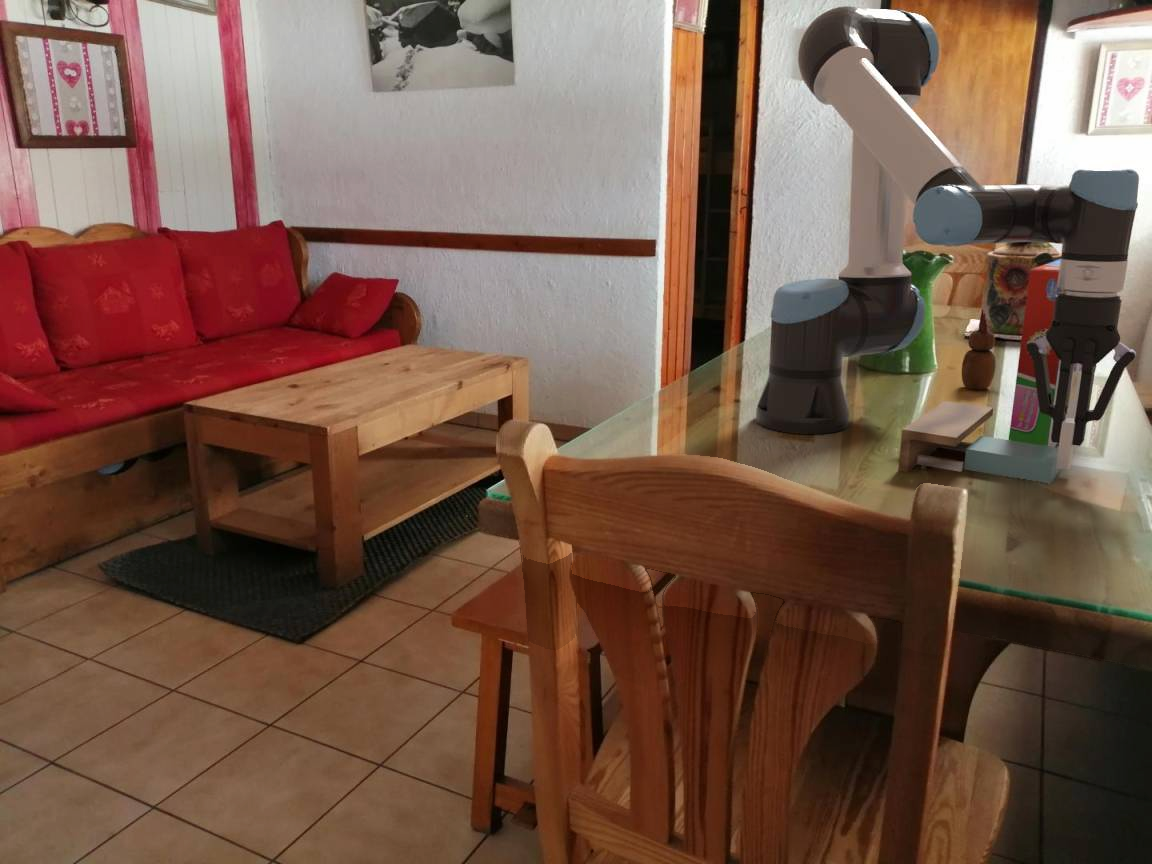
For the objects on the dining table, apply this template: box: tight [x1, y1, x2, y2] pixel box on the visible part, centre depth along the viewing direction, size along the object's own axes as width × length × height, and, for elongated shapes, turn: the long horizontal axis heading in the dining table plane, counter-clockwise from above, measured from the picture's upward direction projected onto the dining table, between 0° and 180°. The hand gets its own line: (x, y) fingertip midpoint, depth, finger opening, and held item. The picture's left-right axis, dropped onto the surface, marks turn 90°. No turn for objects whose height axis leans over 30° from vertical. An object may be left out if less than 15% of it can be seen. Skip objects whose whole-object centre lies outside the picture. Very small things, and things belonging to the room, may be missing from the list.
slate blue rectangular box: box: [963, 435, 1062, 485], centre depth 127 cm, size 11×8×3 cm
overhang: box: [898, 400, 994, 473], centre depth 132 cm, size 7×20×6 cm, turn 143°
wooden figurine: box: [961, 310, 997, 391], centre depth 173 cm, size 7×6×15 cm
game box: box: [1008, 259, 1082, 447], centre depth 138 cm, size 21×6×27 cm, turn 141°
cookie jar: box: [964, 242, 1062, 341], centre depth 228 cm, size 25×25×32 cm
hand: (1063, 466), depth 123 cm, fingers closed
